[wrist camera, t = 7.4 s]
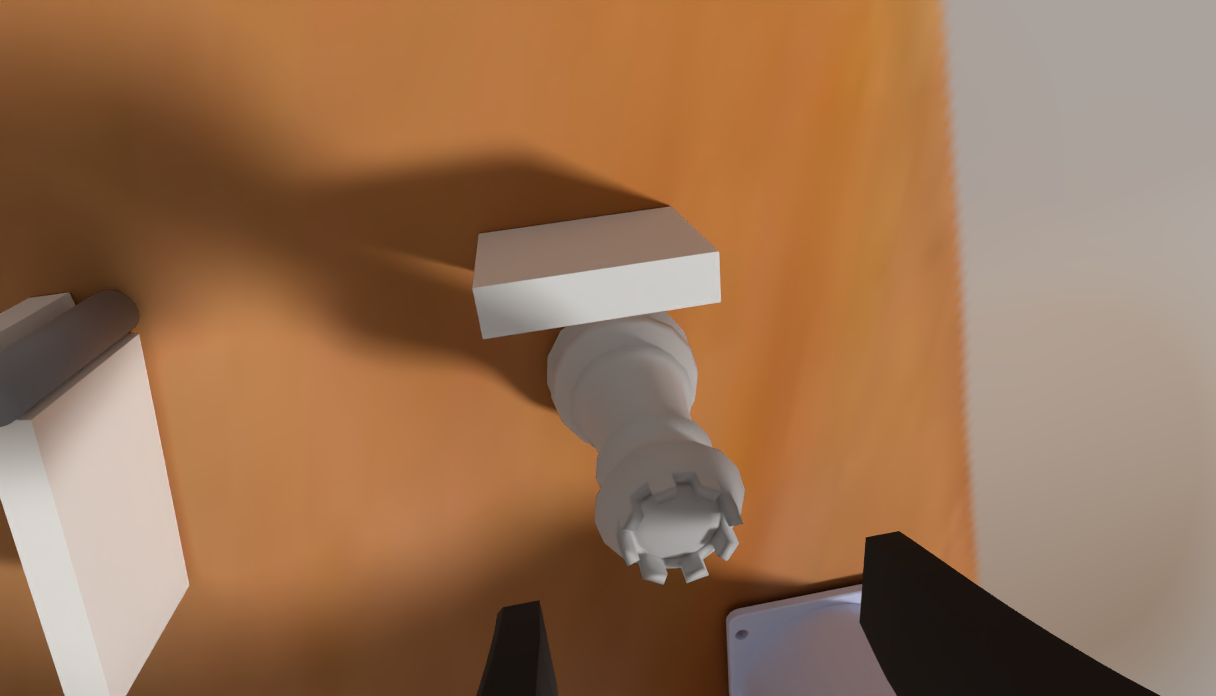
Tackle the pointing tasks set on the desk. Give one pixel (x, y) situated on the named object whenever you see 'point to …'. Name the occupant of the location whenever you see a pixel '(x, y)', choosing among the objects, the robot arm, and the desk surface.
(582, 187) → the desk surface
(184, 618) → the desk surface
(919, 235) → the desk surface
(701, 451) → the rook chess piece
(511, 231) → the wall
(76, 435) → the door
